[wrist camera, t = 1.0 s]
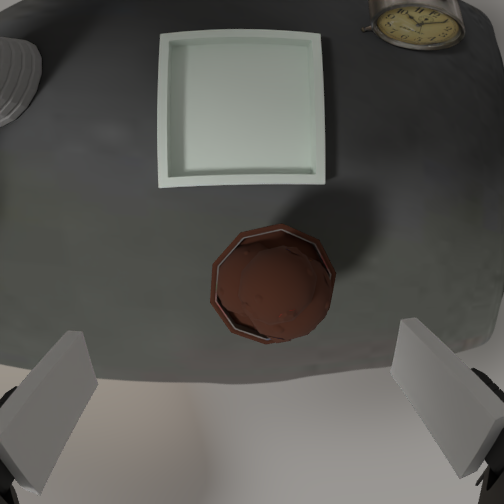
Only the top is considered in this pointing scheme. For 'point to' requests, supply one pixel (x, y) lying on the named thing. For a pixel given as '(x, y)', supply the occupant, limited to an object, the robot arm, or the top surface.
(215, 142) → the tray
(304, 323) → the ice cream bowl
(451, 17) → the alarm clock
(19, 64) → the soap bottle
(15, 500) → the robot arm
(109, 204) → the top surface
